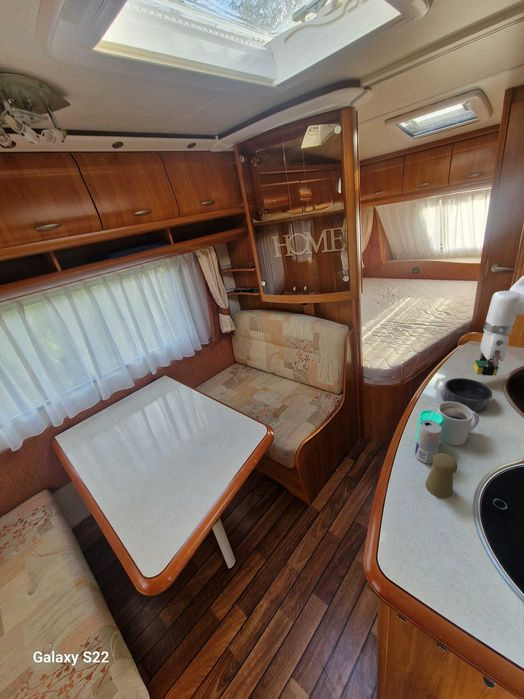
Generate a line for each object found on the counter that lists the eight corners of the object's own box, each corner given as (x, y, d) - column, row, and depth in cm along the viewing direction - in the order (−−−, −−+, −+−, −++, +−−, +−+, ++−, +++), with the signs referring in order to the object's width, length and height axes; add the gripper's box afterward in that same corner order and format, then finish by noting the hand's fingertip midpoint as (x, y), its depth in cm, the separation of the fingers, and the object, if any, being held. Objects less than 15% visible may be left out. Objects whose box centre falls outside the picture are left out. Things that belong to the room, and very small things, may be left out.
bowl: (481, 392, 102) (485, 380, 99) (494, 416, 91) (498, 403, 88) (439, 388, 107) (441, 376, 104) (446, 410, 96) (449, 398, 93)
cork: (422, 476, 75) (428, 448, 70) (447, 478, 74) (454, 449, 69) (429, 497, 70) (436, 468, 65) (456, 499, 68) (465, 470, 63)
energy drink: (426, 447, 83) (432, 417, 78) (439, 461, 78) (447, 430, 73) (410, 451, 83) (415, 422, 77) (423, 466, 78) (429, 435, 72)
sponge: (492, 369, 103) (494, 361, 102) (496, 375, 100) (498, 367, 98) (473, 367, 106) (475, 360, 104) (476, 374, 102) (478, 365, 100)
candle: (411, 436, 88) (416, 407, 82) (429, 434, 88) (435, 404, 82) (422, 451, 82) (428, 421, 77) (441, 448, 82) (449, 418, 77)
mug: (430, 438, 86) (435, 414, 81) (435, 420, 92) (440, 396, 88) (473, 452, 80) (481, 426, 75) (475, 431, 86) (482, 407, 82)
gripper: (521, 338, 86) (505, 385, 94) (502, 318, 100) (489, 361, 108) (492, 337, 89) (479, 382, 97) (477, 318, 103) (467, 359, 111)
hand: (484, 370), depth 103 cm, fingers closed on sponge, 4 cm apart
